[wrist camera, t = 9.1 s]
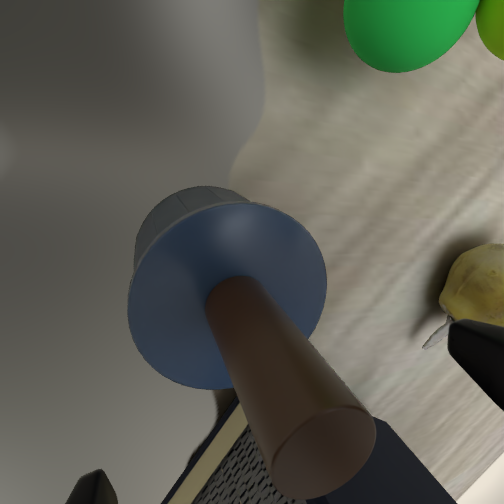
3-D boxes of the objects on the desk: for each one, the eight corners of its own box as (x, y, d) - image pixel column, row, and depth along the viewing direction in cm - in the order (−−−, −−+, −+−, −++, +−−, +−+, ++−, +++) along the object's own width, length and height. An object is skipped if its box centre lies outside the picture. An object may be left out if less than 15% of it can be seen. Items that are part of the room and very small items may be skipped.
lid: (322, 336, 16) (463, 491, 9) (161, 398, 14) (189, 645, 7) (303, 175, 13) (492, 228, 6) (96, 228, 11) (43, 383, 4)
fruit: (386, 325, 24) (486, 206, 21) (418, 332, 28) (506, 232, 25) (460, 393, 20) (595, 257, 17) (485, 390, 24) (599, 278, 21)
